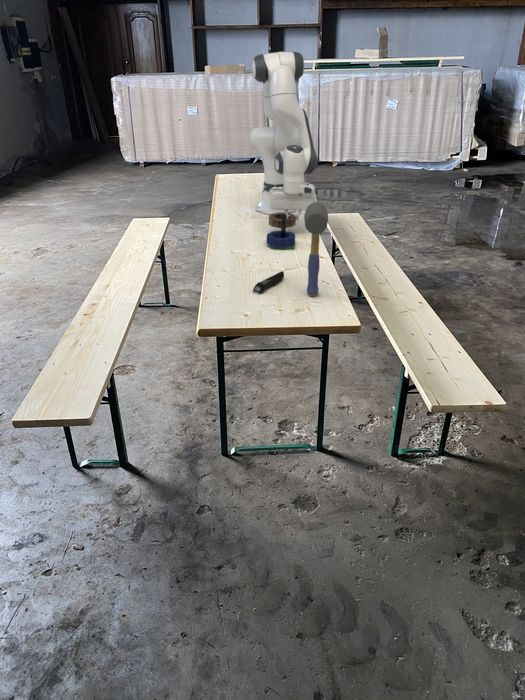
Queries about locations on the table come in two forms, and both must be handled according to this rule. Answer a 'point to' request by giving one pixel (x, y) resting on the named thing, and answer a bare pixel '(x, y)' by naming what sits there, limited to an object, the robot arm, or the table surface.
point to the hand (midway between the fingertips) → (293, 219)
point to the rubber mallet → (314, 242)
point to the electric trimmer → (268, 282)
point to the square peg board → (283, 232)
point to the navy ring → (280, 239)
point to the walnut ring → (276, 220)
